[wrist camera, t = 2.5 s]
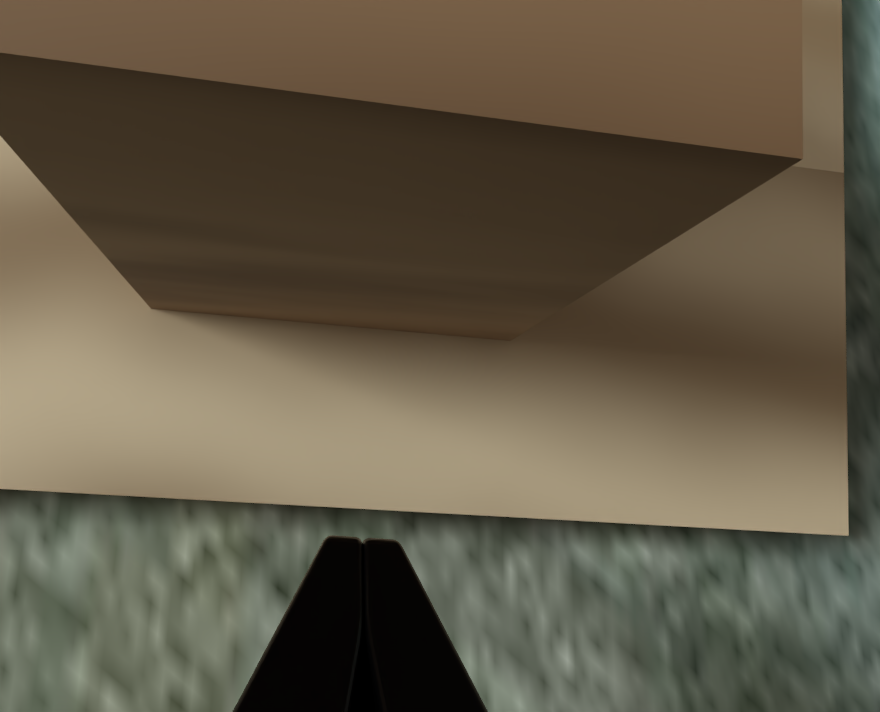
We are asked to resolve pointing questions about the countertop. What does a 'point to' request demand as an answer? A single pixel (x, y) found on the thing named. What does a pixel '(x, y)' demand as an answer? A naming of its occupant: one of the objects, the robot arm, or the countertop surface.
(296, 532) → the countertop surface
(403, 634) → the robot arm
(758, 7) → the walnut block
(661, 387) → the trap board
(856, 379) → the countertop surface
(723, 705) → the countertop surface
